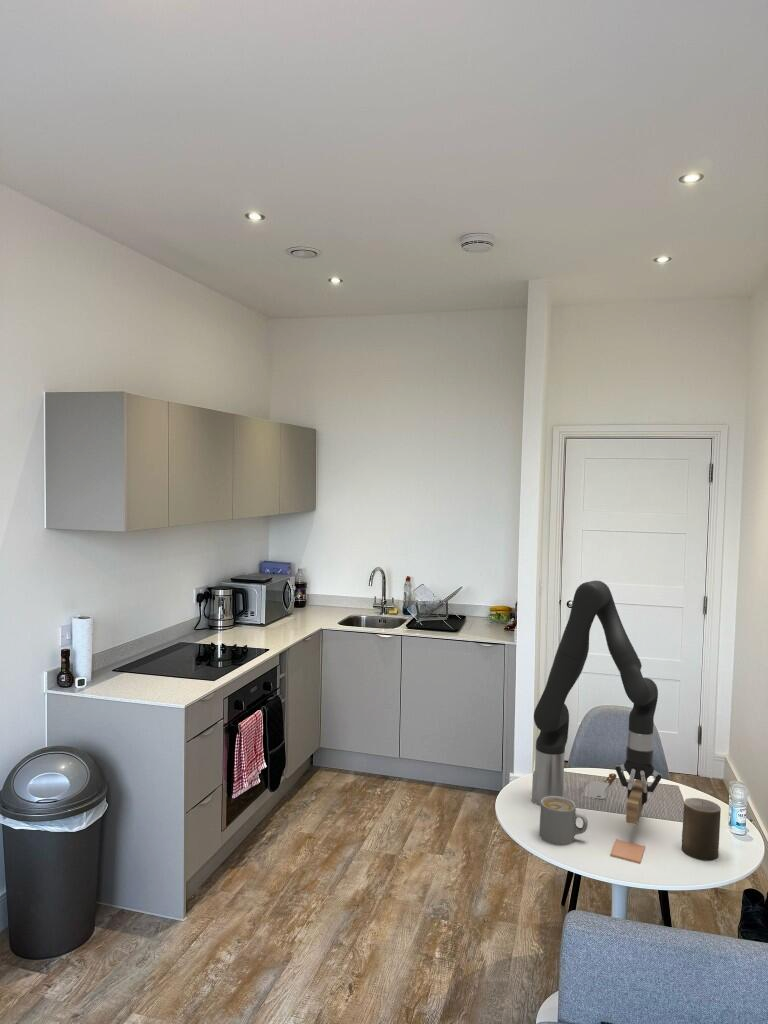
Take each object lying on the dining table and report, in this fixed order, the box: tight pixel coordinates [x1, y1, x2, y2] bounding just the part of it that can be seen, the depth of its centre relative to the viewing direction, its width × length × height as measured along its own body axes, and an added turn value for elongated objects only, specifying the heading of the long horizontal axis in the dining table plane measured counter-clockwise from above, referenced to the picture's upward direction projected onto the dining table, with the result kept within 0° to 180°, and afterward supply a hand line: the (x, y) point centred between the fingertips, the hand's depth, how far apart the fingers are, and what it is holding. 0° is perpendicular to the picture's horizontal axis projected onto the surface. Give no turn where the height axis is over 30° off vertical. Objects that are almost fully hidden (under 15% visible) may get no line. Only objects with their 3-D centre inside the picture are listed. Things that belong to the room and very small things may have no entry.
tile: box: [609, 838, 646, 865], centre depth 203 cm, size 8×2×10 cm
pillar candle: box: [681, 797, 722, 861], centre depth 204 cm, size 10×10×15 cm
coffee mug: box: [538, 796, 588, 846], centre depth 209 cm, size 13×10×10 cm
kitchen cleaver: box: [588, 773, 617, 801], centre depth 248 cm, size 24×1×10 cm
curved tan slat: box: [625, 779, 644, 825], centre depth 216 cm, size 22×3×6 cm, turn 153°
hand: (637, 801), depth 216 cm, fingers closed on curved tan slat, 3 cm apart
